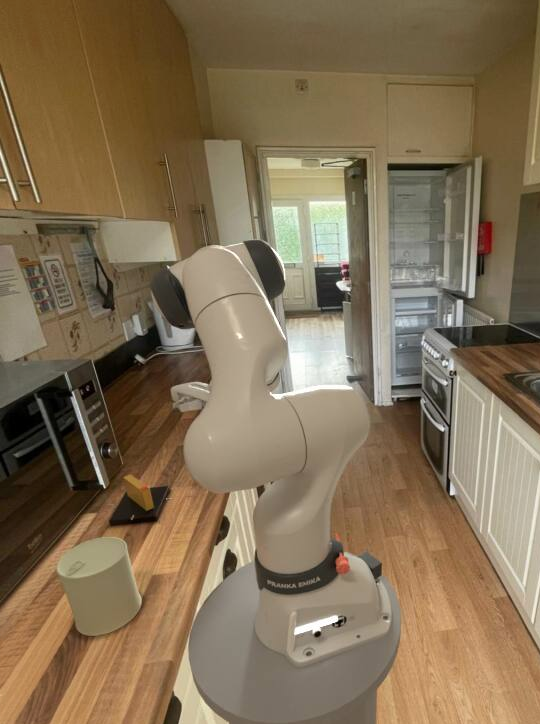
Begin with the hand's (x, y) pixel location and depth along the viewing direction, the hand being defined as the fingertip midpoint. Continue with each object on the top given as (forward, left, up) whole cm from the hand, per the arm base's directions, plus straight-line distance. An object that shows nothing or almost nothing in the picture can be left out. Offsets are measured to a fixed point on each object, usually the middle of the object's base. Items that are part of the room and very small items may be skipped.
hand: (176, 408), depth 99 cm
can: (+5, +40, -20) cm, 45 cm away
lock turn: (+8, +10, -18) cm, 22 cm away
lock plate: (+8, +10, -19) cm, 24 cm away
